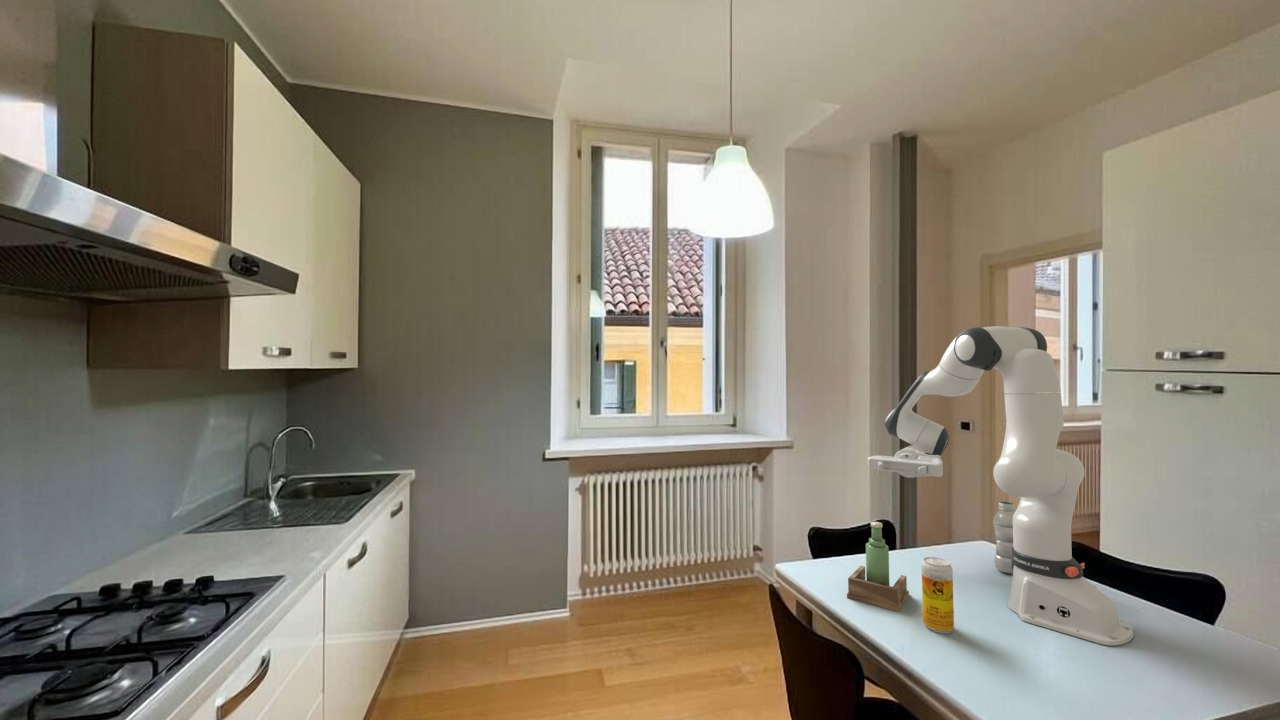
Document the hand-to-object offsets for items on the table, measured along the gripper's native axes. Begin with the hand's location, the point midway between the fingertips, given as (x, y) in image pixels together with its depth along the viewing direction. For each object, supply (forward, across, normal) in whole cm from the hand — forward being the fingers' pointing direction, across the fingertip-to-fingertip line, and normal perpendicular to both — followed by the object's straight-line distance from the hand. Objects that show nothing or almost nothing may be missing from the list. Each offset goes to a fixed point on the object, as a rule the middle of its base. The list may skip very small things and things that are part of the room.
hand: (898, 469), depth 145 cm
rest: (+20, -1, +30) cm, 36 cm away
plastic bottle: (-20, +24, +30) cm, 43 cm away
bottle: (+20, -1, +29) cm, 35 cm away
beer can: (+29, +14, +30) cm, 44 cm away
